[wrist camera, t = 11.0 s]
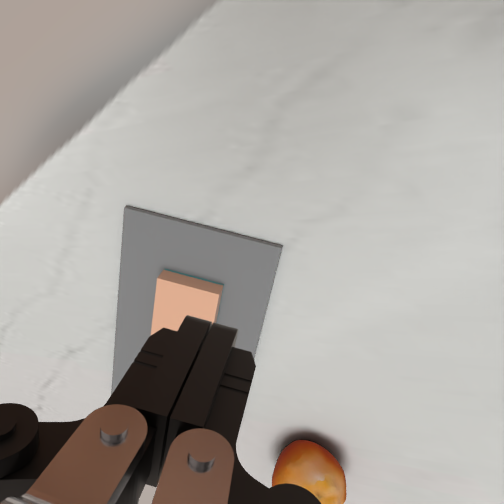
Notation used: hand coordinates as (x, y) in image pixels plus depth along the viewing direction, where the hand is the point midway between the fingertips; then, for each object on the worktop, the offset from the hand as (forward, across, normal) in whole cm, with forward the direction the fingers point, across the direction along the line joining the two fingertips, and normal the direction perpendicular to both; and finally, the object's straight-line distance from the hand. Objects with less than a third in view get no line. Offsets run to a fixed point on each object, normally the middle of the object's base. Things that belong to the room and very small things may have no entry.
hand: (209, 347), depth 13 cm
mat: (+27, -6, -21) cm, 35 cm away
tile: (+25, -6, -14) cm, 30 cm away
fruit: (+27, +10, -34) cm, 45 cm away
